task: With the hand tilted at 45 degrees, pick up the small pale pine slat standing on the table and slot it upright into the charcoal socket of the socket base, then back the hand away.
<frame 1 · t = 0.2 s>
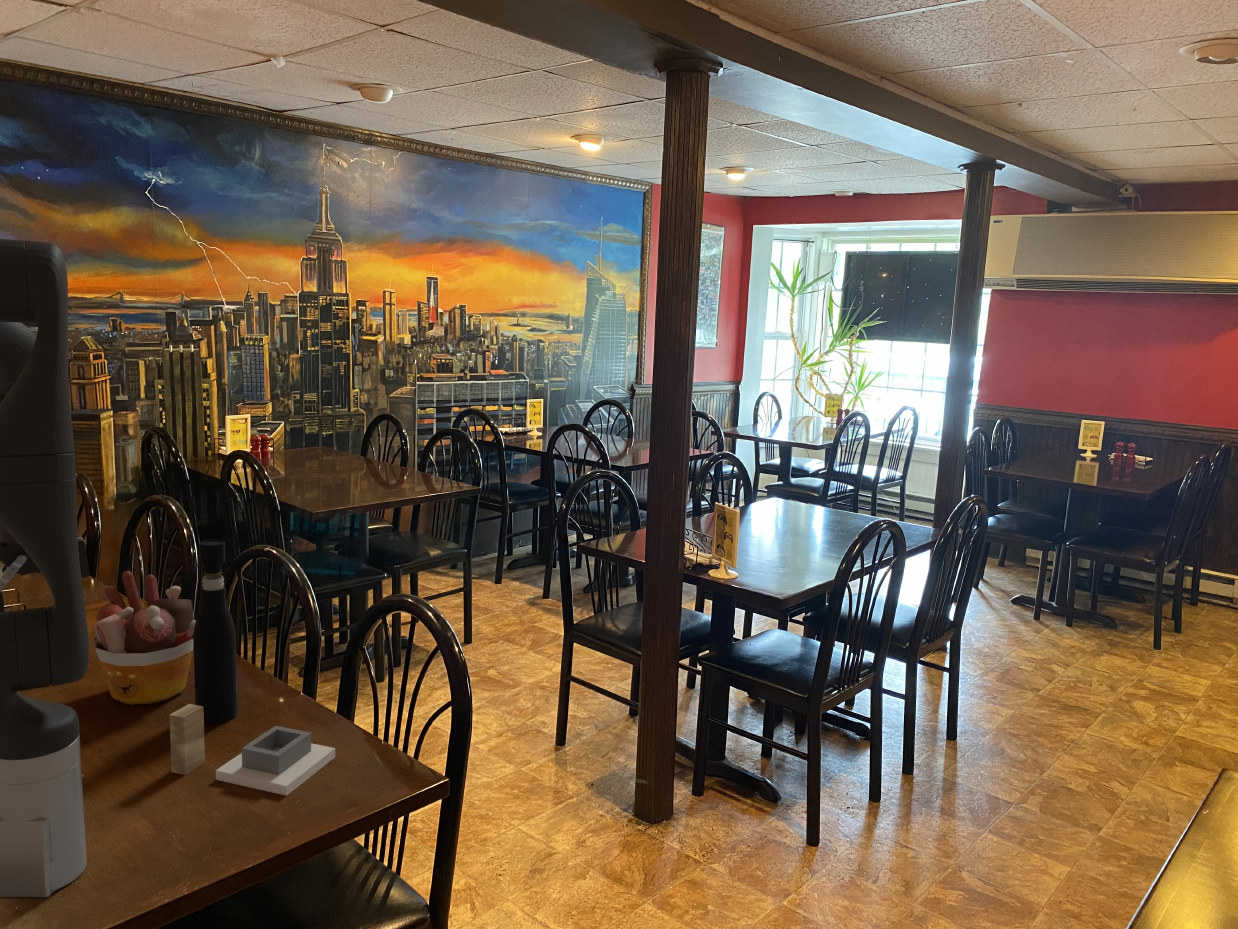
hand: (36, 609, 136), 22 cm above the table, tool pointing down, fingers open, 8 cm apart
slat: (188, 767, 137), on the table
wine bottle: (216, 716, 153), on the table
bucket of meat: (148, 692, 161), on the table
socket base: (277, 768, 137), on the table
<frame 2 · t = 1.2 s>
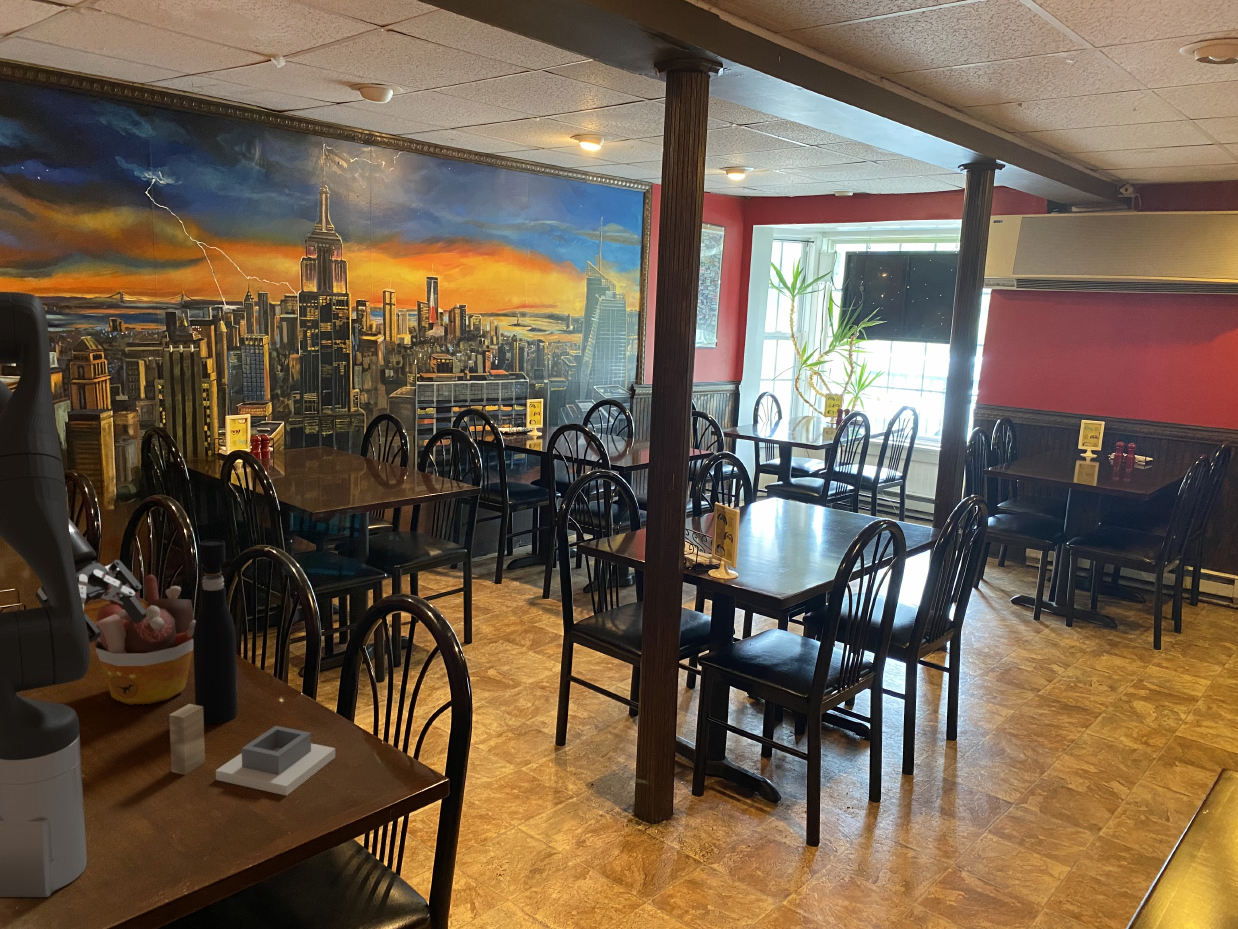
hand: (119, 629, 136), 20 cm above the table, tool tilted 45°, fingers open, 8 cm apart
nothing on the table moved.
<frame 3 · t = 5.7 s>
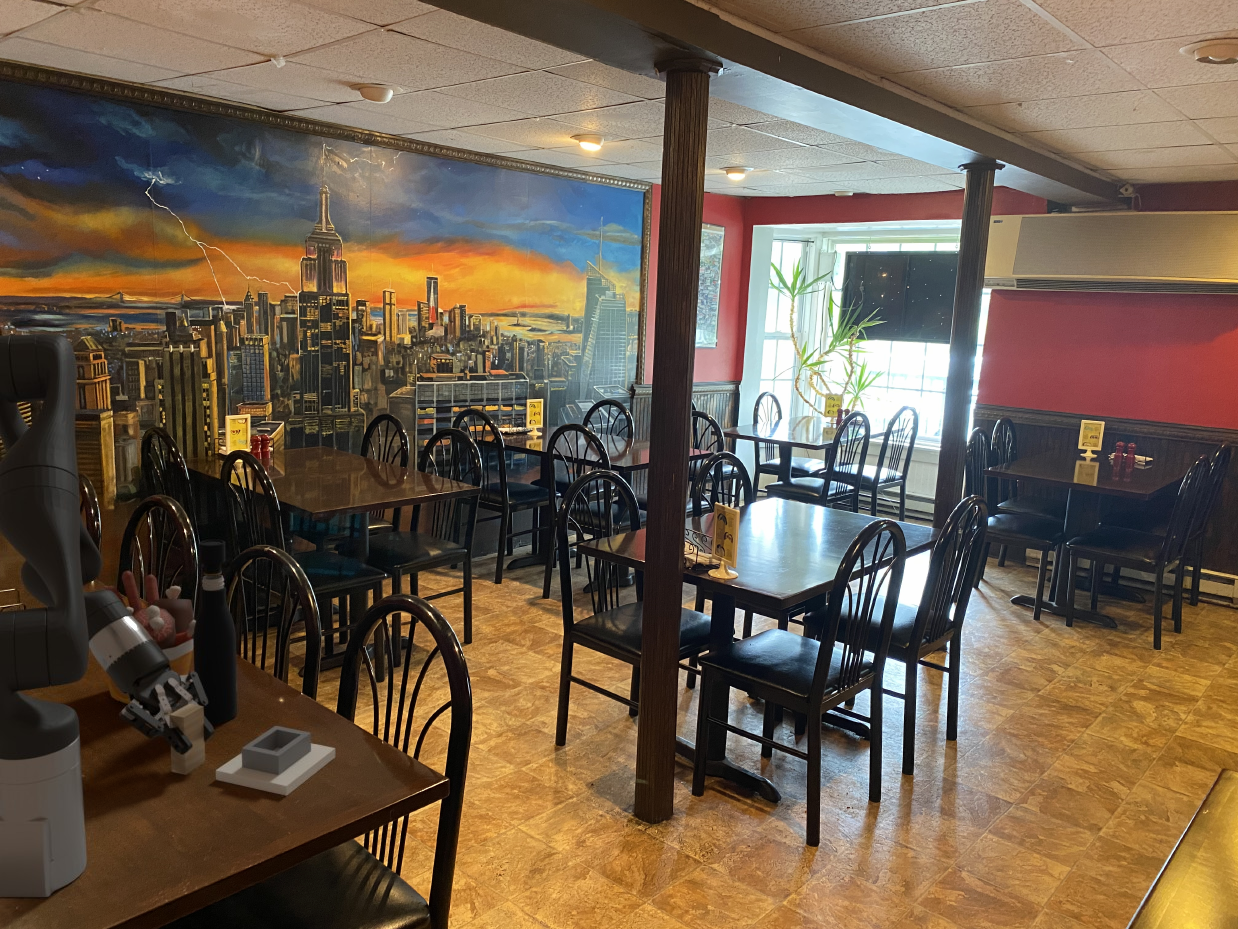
hand: (198, 743, 135), 4 cm above the table, tool tilted 45°, fingers closed on slat, 4 cm apart
slat: (188, 766, 137), on the table, touching gripper
everything else where it was.
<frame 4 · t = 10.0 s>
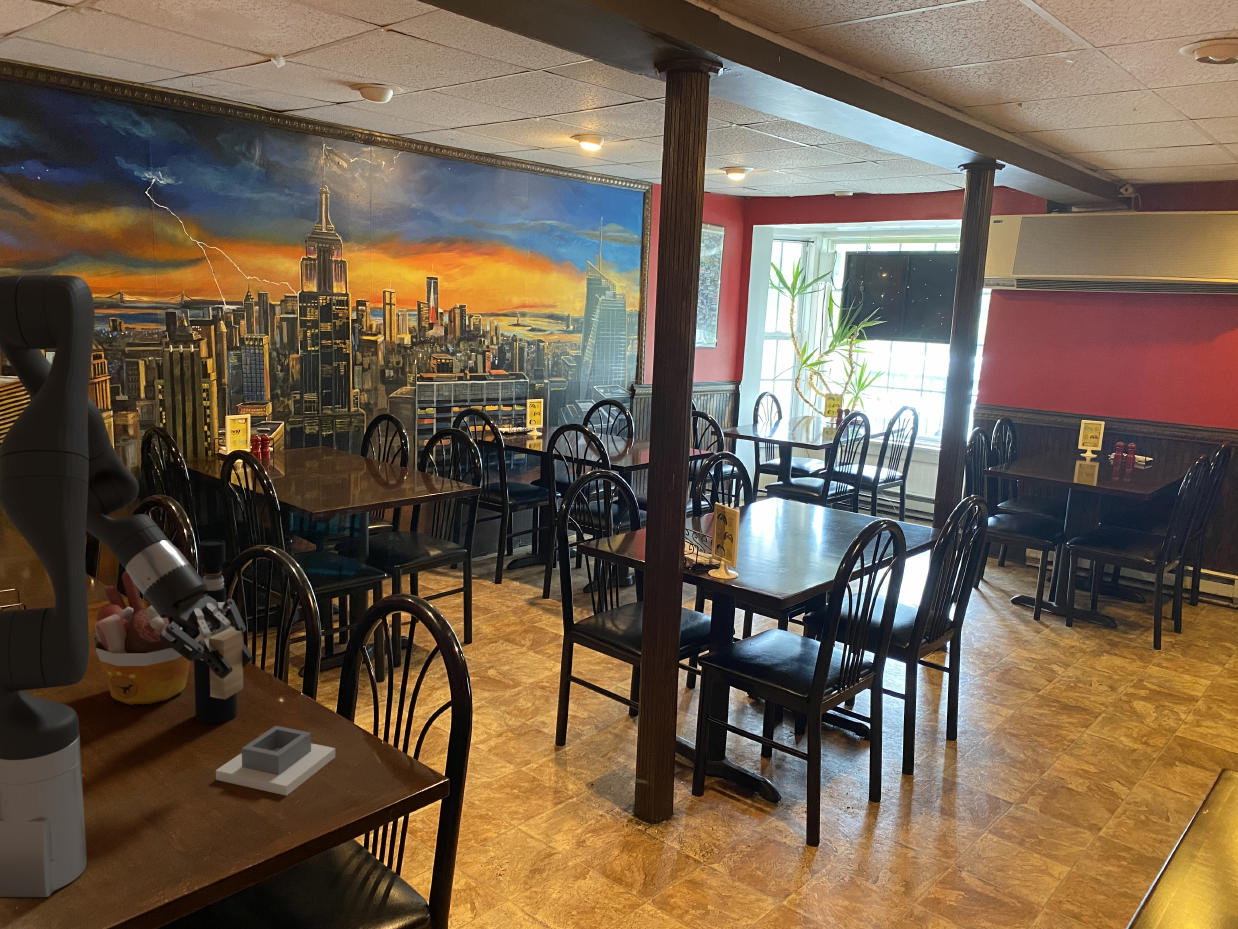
hand: (237, 668, 134), 16 cm above the table, tool tilted 45°, fingers closed on slat, 4 cm apart
slat: (227, 692, 135), point 12 cm above the table, touching gripper
everything else where it was.
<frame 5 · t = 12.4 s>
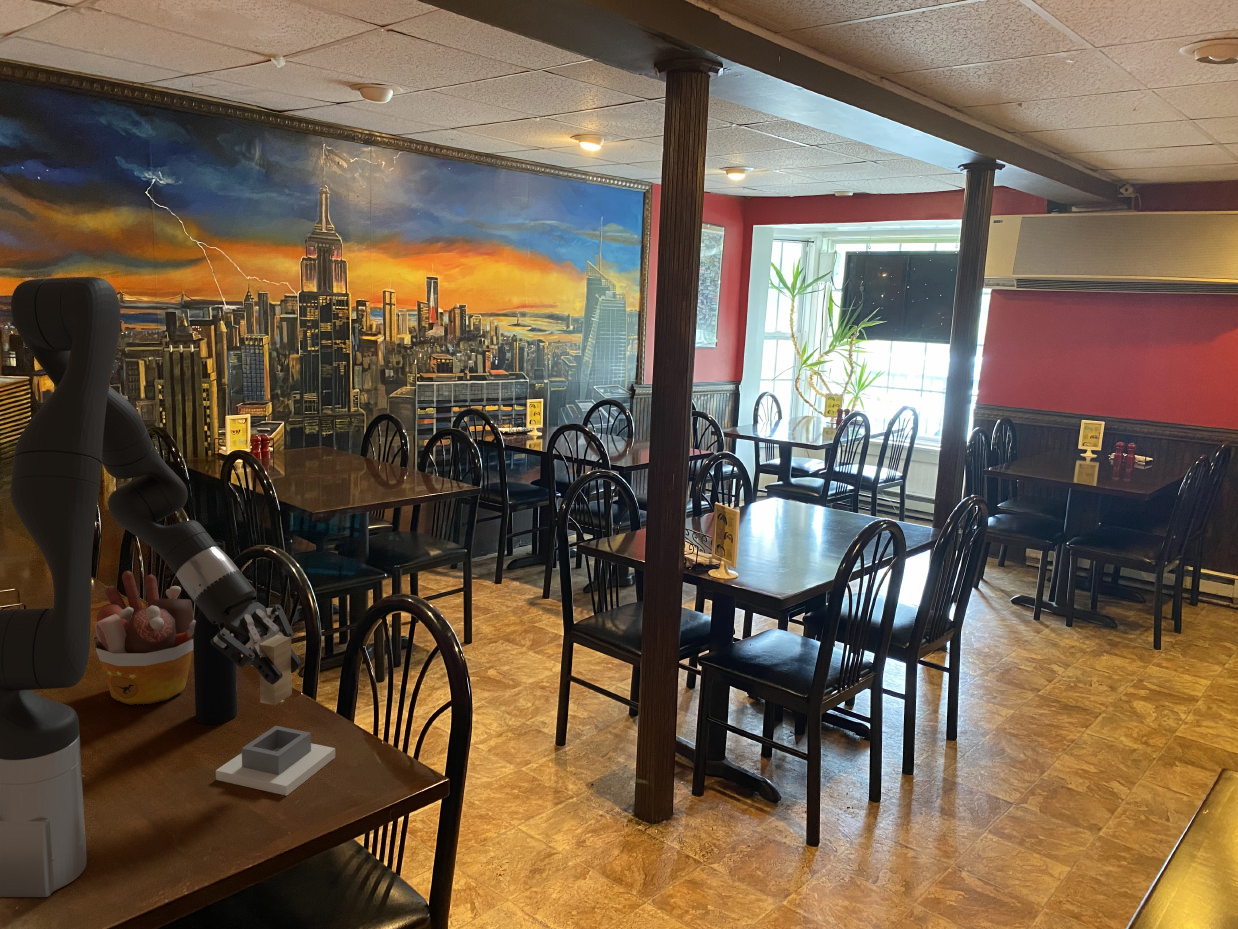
hand: (287, 674, 134), 15 cm above the table, tool tilted 45°, fingers closed on slat, 4 cm apart
slat: (276, 698, 136), point 11 cm above the table, touching gripper
everything else where it was.
when the fingers open (6 cm above the table, at t = 14.7 s): slat stays where it is, resting on socket base.
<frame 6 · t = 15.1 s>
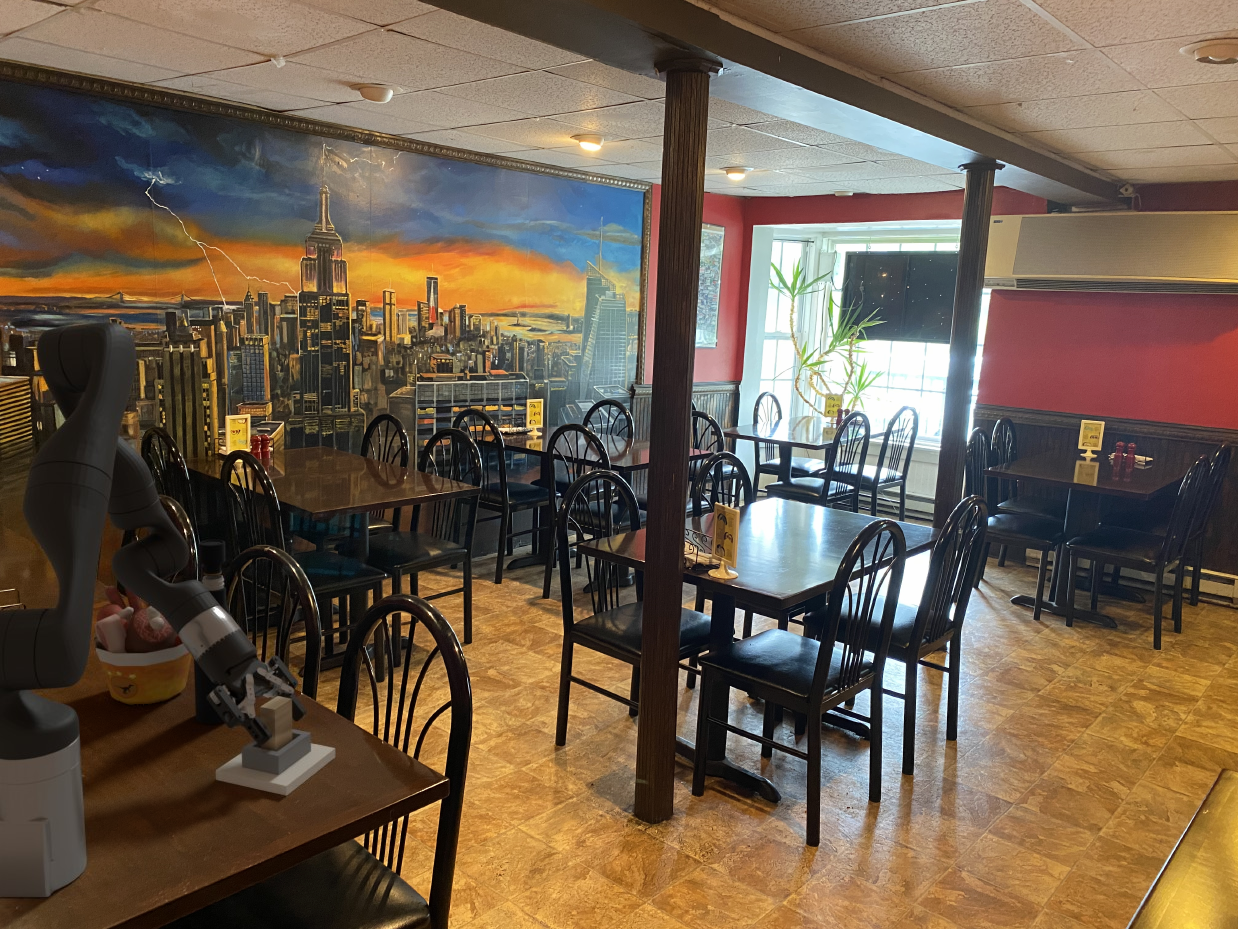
hand: (285, 729, 136), 7 cm above the table, tool tilted 45°, fingers open, 7 cm apart
slat: (277, 759, 137), point 1 cm above the table, touching socket base
everything else where it was.
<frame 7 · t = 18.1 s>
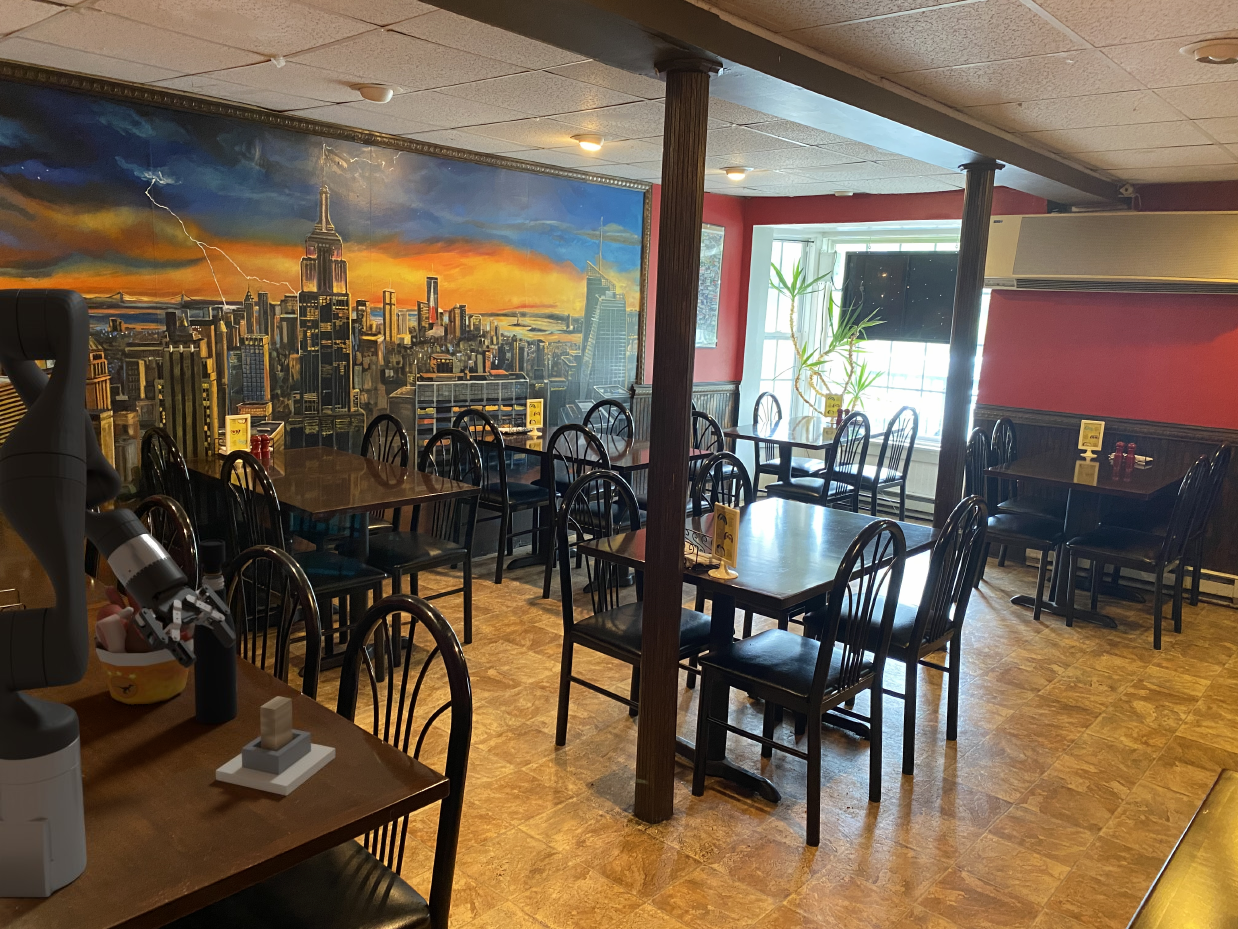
hand: (212, 654, 138), 16 cm above the table, tool tilted 45°, fingers open, 8 cm apart
nothing on the table moved.
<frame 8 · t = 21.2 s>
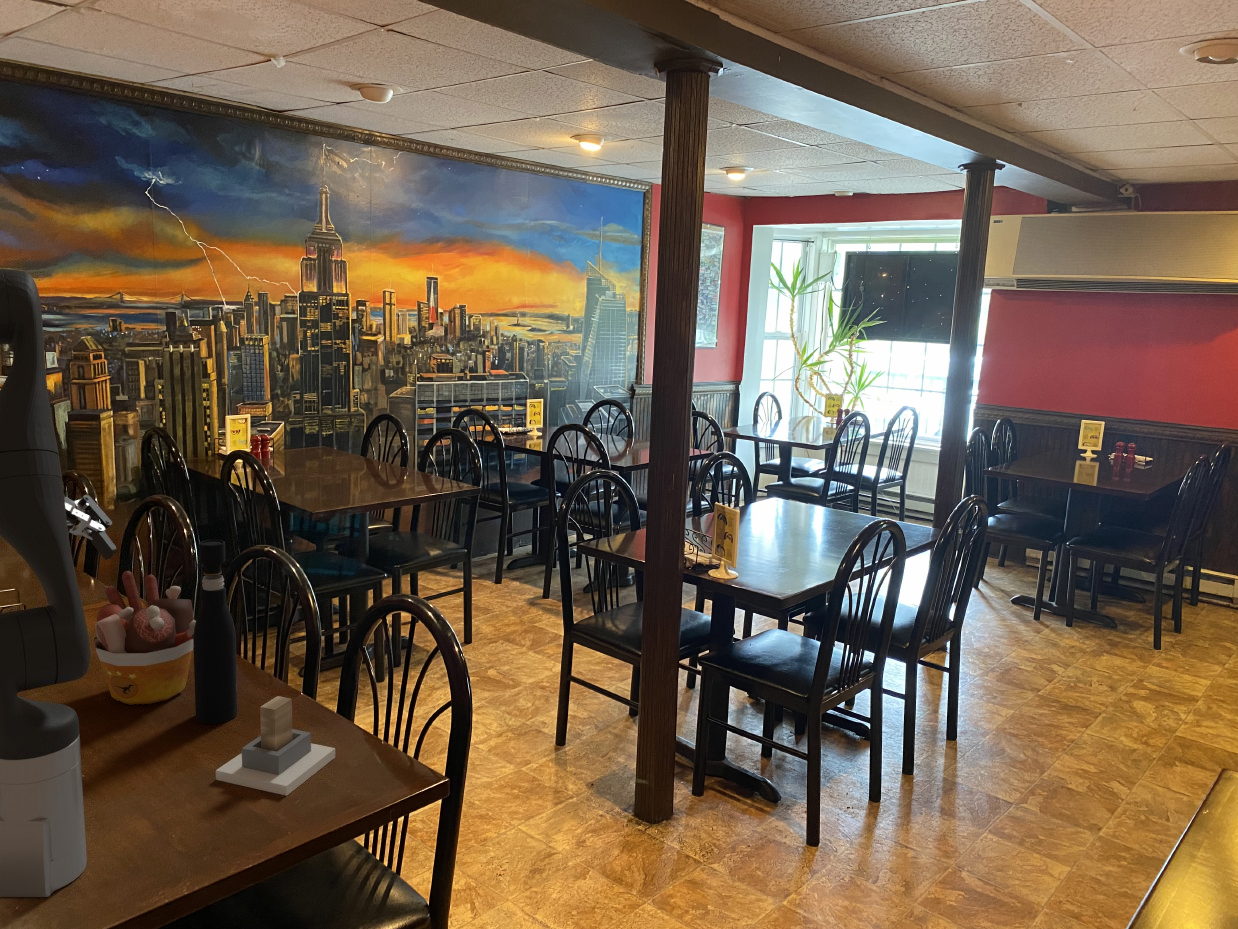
hand: (87, 563, 132), 31 cm above the table, tool tilted 45°, fingers open, 8 cm apart
nothing on the table moved.
at the end: slat 0.0 cm off-centre on the socket base, point 1.5 cm above the socket base's base; slat tilted 0°; the gripper is holding nothing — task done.
